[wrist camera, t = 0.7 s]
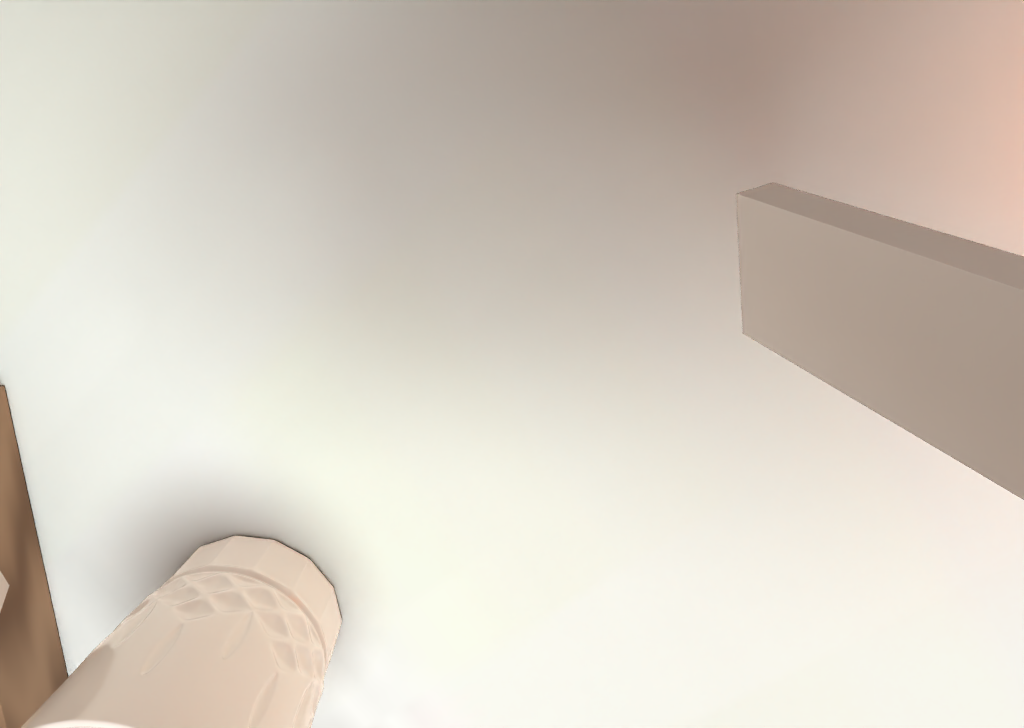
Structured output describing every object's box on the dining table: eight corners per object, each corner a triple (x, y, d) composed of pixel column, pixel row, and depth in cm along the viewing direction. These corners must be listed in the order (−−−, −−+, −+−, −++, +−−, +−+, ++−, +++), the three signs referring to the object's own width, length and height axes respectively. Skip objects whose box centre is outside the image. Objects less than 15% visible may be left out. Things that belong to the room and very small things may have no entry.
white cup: (218, 708, 33) (73, 959, 23) (124, 552, 30) (-80, 760, 21) (389, 662, 31) (308, 910, 22) (303, 494, 29) (171, 690, 20)
